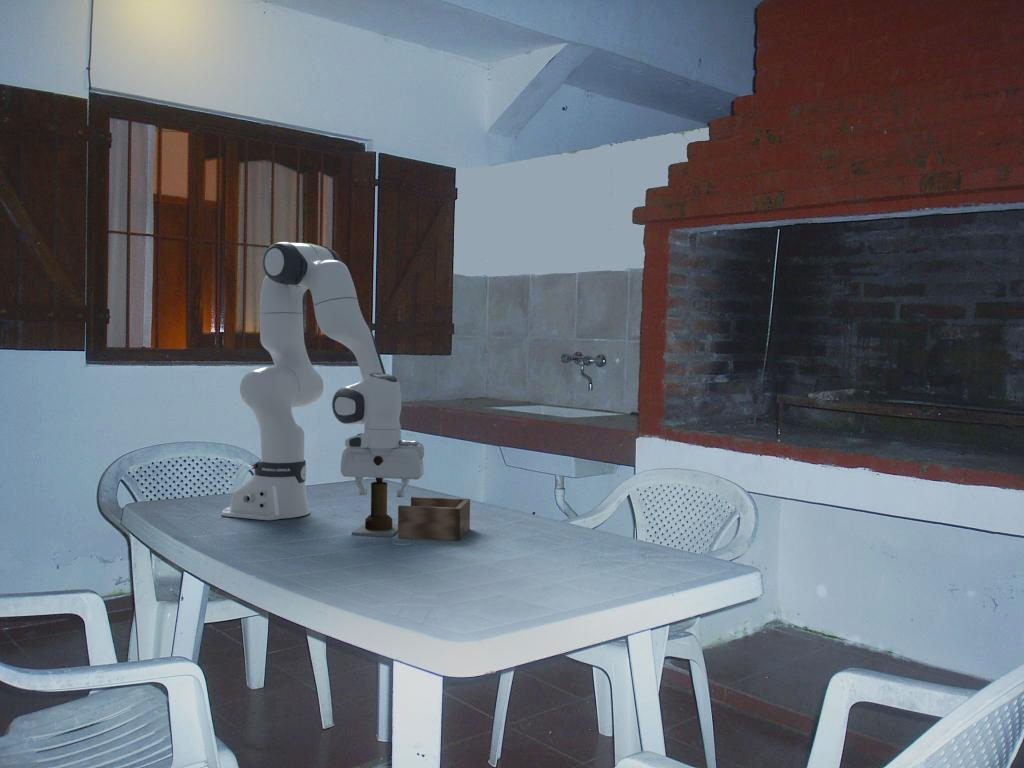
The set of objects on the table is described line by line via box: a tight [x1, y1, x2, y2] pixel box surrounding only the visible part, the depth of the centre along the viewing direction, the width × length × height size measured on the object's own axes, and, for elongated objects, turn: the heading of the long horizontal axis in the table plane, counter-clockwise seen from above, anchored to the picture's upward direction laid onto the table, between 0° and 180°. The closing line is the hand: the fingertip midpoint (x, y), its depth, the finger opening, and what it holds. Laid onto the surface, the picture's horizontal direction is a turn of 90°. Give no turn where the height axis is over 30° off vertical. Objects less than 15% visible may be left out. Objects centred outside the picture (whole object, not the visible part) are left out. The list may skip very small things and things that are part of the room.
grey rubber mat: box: [351, 522, 398, 538], centre depth 216 cm, size 10×12×1 cm
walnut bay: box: [397, 496, 471, 541], centre depth 214 cm, size 15×13×8 cm
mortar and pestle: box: [364, 456, 393, 530], centre depth 216 cm, size 7×6×18 cm
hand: (381, 496), depth 216 cm, fingers open, 8 cm apart
